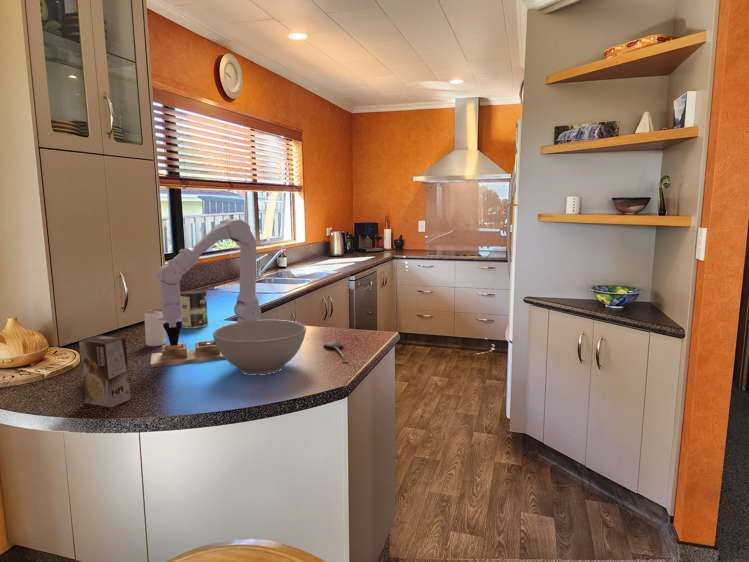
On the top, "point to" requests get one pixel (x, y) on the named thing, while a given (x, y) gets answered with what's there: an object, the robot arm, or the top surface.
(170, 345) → the orange block
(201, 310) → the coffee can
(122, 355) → the coffee box
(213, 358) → the console
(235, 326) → the decorative bowl
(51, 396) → the top surface
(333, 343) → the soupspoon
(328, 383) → the top surface
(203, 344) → the grey plunger
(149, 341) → the can
